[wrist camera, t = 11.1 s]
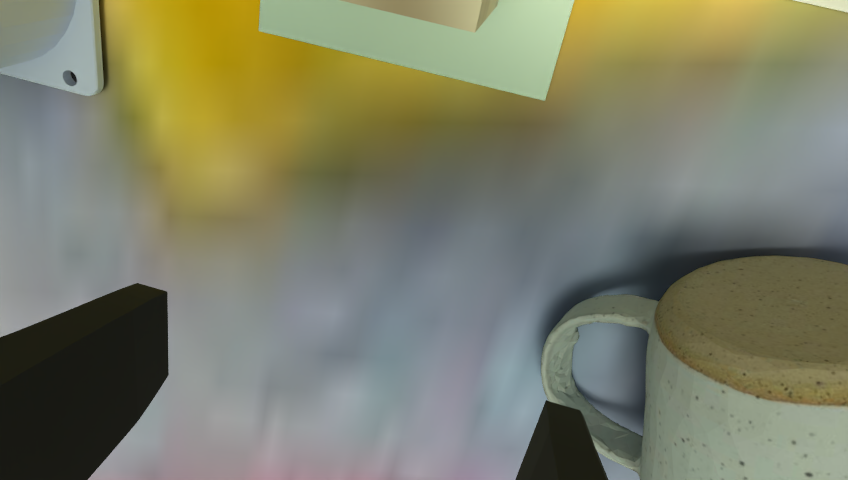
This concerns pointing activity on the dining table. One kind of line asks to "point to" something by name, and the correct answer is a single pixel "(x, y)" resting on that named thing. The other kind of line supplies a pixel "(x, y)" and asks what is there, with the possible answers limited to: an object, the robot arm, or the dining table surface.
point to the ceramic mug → (727, 373)
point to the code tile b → (829, 4)
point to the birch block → (438, 10)
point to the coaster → (436, 39)
